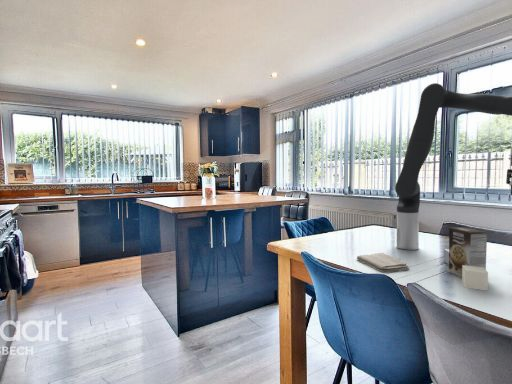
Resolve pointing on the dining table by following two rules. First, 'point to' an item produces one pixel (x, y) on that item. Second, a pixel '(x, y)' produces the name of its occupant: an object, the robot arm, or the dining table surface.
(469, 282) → the cream cube
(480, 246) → the coffee box
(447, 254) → the slate block
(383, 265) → the washcloth
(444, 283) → the dining table surface
